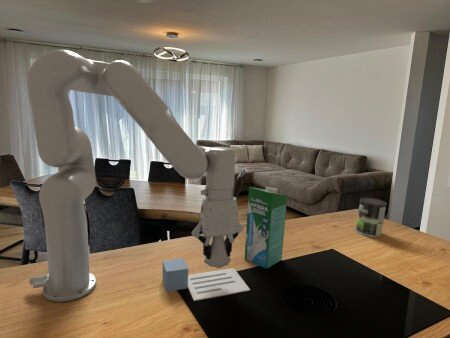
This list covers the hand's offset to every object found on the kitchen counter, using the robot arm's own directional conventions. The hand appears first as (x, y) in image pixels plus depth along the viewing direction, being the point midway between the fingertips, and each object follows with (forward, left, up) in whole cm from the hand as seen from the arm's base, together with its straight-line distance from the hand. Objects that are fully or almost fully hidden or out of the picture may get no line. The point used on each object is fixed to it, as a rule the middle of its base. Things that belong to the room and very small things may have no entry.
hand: (217, 255), depth 83 cm
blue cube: (-11, +3, -9) cm, 15 cm away
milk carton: (+20, +9, -9) cm, 24 cm away
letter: (0, 0, -9) cm, 9 cm away
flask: (0, 0, -2) cm, 2 cm away
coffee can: (+76, +18, -9) cm, 78 cm away
